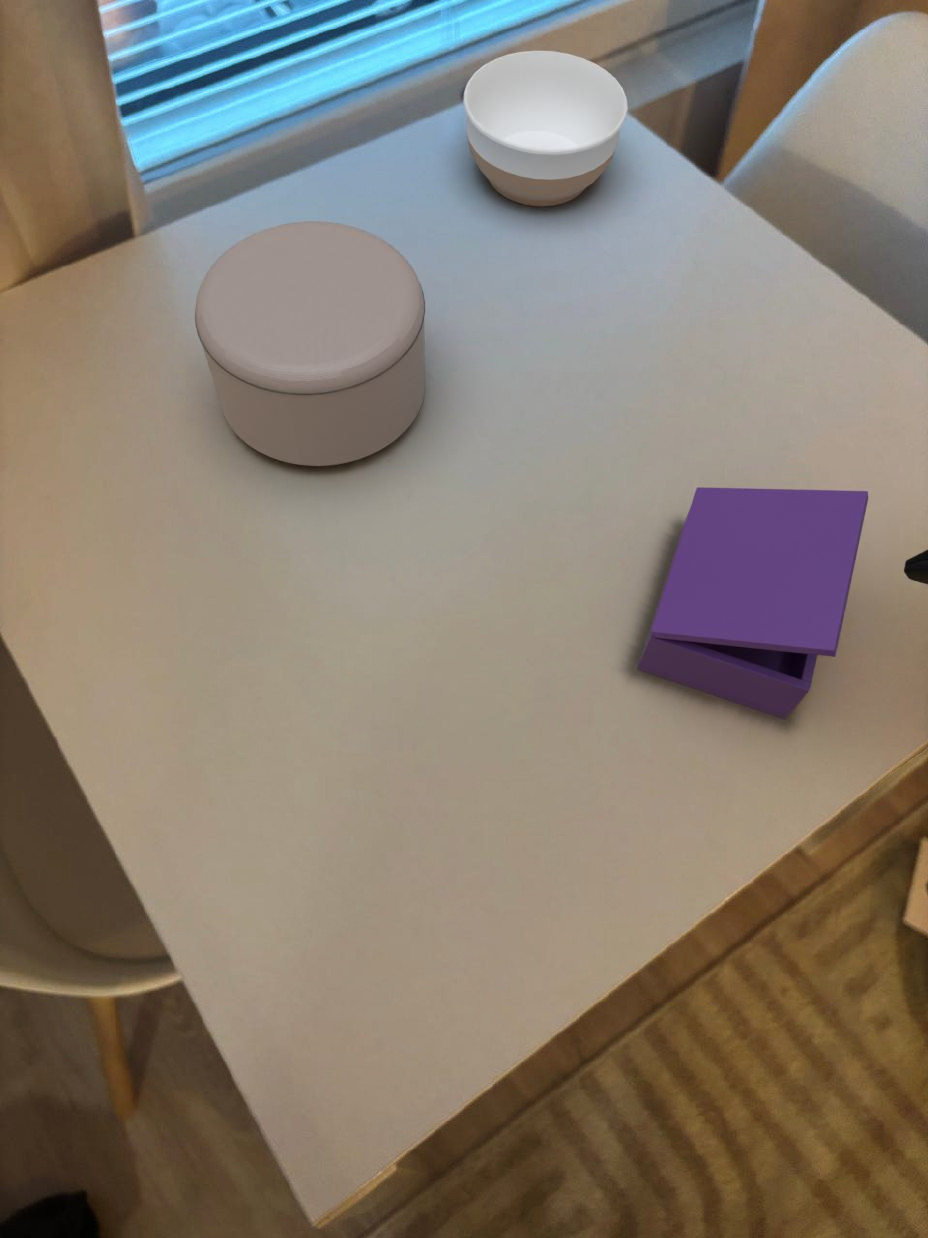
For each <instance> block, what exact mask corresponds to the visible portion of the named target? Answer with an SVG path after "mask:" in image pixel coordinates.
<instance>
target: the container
mask: <svg viewBox="0 0 928 1238" xmlns="http://www.w3.org/2000/svg"><path fill="white" fill-rule="evenodd" d="M196 296H197V297H196V301H195V309H194V319H195V320H194V321H195V322H194V324H195V329H196V333H197V336H198V338H199V341H200V343H201V346H202V349H203V352H204V355H205V360H206V362H207V367H208V368H209V373H210V375H211V378H212V382H213V386H214V389H215V392H216V395H217V398H218V402H219V405H220V409H221V411H222V414H223V416H224V418H225V420H226V423H227V425H229V427H230V428H231V430H232V431H233V432H234V434H236V435H237V436H238V438H239V439H240V440H241V441H243V442H244V443H245V444H247V445H248V446H249V447H251V448H252V449H253V450H255V451H257V452H259V453H260V454H263V455H265V456H267V457H269V458H272V459H274V460H277V461H281V462H284V463H288V464H294V465H299V466H309V467H310V466H311V467H324V466H336V465H340V464H347V463H350V462H354V461H357V460H361V459H363V458H366V457H369V456H371V455H373V454H375V453H377V452H379V451H381V450H383V449H384V448H386V447H388V446H389V445H391V444H392V443H393V442H395V441H396V440H397V439H398V438H399V437H401V436H402V435H403V434H404V432H406V431H407V429H408V428H410V426H411V425H412V424H413V422H414V420H415V419H416V417H417V415H418V414H419V412H420V409H421V407H422V405H423V401H424V398H425V392H426V340H425V336H426V335H425V315H426V300H425V294H424V290H423V287H422V285H421V282H420V280H419V278H418V276H417V274H416V272H415V270H414V268H413V266H412V265H411V264H410V262H409V261H408V260H407V259H406V258H405V256H403V254H402V253H401V252H400V251H399V250H397V248H395V247H394V246H393V245H392V244H390V243H389V242H387V241H386V240H384V239H383V238H381V237H380V236H377V235H376V234H373V233H371V232H369V231H366V230H364V229H361V228H357V227H354V226H352V225H347V224H343V223H339V222H338V223H337V222H329V221H319V220H318V221H297V222H290V223H284V224H280V225H274V226H272V227H269V228H264V229H263V230H260V231H258V232H255V233H252V234H251V235H249V236H247V237H245V238H243V239H241V240H240V241H237V243H235V244H233V245H232V246H230V248H228V249H227V250H225V251H224V252H223V253H222V254H221V255H220V256H219V257H218V258H217V259H216V260H215V261H214V263H213V264H212V265H211V266H210V267H209V269H208V271H207V272H206V273H205V275H204V278H203V280H202V282H201V284H200V286H199V288H198V292H197V295H196Z"/></svg>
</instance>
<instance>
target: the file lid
mask: <svg viewBox="0 0 928 1238" xmlns="http://www.w3.org/2000/svg"><path fill="white" fill-rule="evenodd" d="M868 502H869V491H867V490H840V489H839V490H832V489H831V490H830V489H794V488H793V489H788V488H787V489H786V488H749V487H748V488H743V487H703V486H702V487H700V486H698V487H696V489H695V493H694V494H693V498H692V501H691V504H690V508H689V510H690V511H689V510H688V513H689V514H688V513H687V515H688V517H687V516H686V517H687V520H686V519H685V520H686V523H685V526H684V530H683V533H682V536H681V539H680V542H679V545H678V549H677V552H676V555H675V558H674V561H673V564H672V567H671V571H670V574H669V577H668V580H667V583H666V586H665V589H664V593H663V596H662V599H661V602H660V605H659V608H658V612H657V615H656V618H655V621H654V624H653V627H652V630H651V632H652V635H653V637H654V638H663V639H672V640H682V641H691V642H701V643H710V644H719V645H729V646H738V647H748V648H757V649H766V650H776V651H785V652H795V653H804V654H814V655H817V656H823V657H832V658H833V657H834V658H835V657H836V656H837V651H838V646H839V641H840V638H841V631H842V629H843V628H842V627H843V622H844V618H845V612H846V609H847V603H848V598H849V592H850V588H851V585H852V579H853V575H854V574H853V573H854V570H855V564H856V560H857V555H858V550H859V545H860V540H861V536H862V531H863V527H864V526H863V525H864V521H865V517H866V511H867V506H868Z"/></svg>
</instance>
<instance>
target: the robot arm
mask: <svg viewBox="0 0 928 1238" xmlns="http://www.w3.org/2000/svg"><path fill="white" fill-rule="evenodd" d="M903 573H904V574H905V575H906V577H907V579H909V580H911V581H914V582H917V583H921V584H924V585H928V549H926V550H924V551H922V552H920V553H918V554H916V555H914V556H912V557H910V558H908V559H906V560H905V562H904V567H903Z"/></svg>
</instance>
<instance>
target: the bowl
mask: <svg viewBox="0 0 928 1238" xmlns="http://www.w3.org/2000/svg"><path fill="white" fill-rule="evenodd" d="M463 91H464V92H463V98H462V99H463V108H464V111H465V113H466V127H465V132H466V137H467V144H468V148H469V151H470V154H471V156H472V158H473V160H474V162H475V163H476V166H477V167H478V168H479V171H480V172H481V173H482V174H483V175H484V176H485V177H486V178H487V179H488V181H489V183H490V185H491V186H492V188H493V189H495V191H496V192H497V193H499V194H500V195H502V196H503V197H504V198H506V199H508V200H510V201H512V202H515V203H518V204H522V205H524V206H532V207H551V206H557V205H561V204H562V205H563V204H565V203H567V202H570V201H572V200H574V199H575V198H577V197H579V195H581V194H582V193H583V192H584V191H585V190H586V188H587V187H589V186H590V185H592V184H594V182H595V181H597V180H598V178H600V176H601V175H602V174H603V173H604V171H605V170H606V169H607V168H608V167H609V165H610V163H611V161H612V160H613V157H614V154H615V151H616V149H617V147H618V143H619V139H620V131H621V128H622V127H623V125H624V124H625V122H626V120H627V115H628V112H629V111H628V110H629V107H628V105H629V104H628V98H627V96H626V93H625V90H624V89H623V86H622V85H621V84H620V83H619V81H618V80H617V78H616V77H614V76H613V75H612V74H611V73H610V72H609V71H607V70H606V69H605V68H603V67H602V66H600V65H598V64H597V63H595V62H593V61H591V60H589V59H585V58H583V57H581V56H577V55H574V54H571V53H565V52H559V51H553V50H527V51H519V52H513V53H509V54H506V55H502V56H500V57H497V58H494V59H493V60H491V61H489V62H487V63H485V64H484V65H482V66H481V67H480V68H478V70H476V71H475V72H474V73H473V74H472V76H471V77H470V78H469V80H468V81H467V83H466V86H465V88H464V90H463Z"/></svg>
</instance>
